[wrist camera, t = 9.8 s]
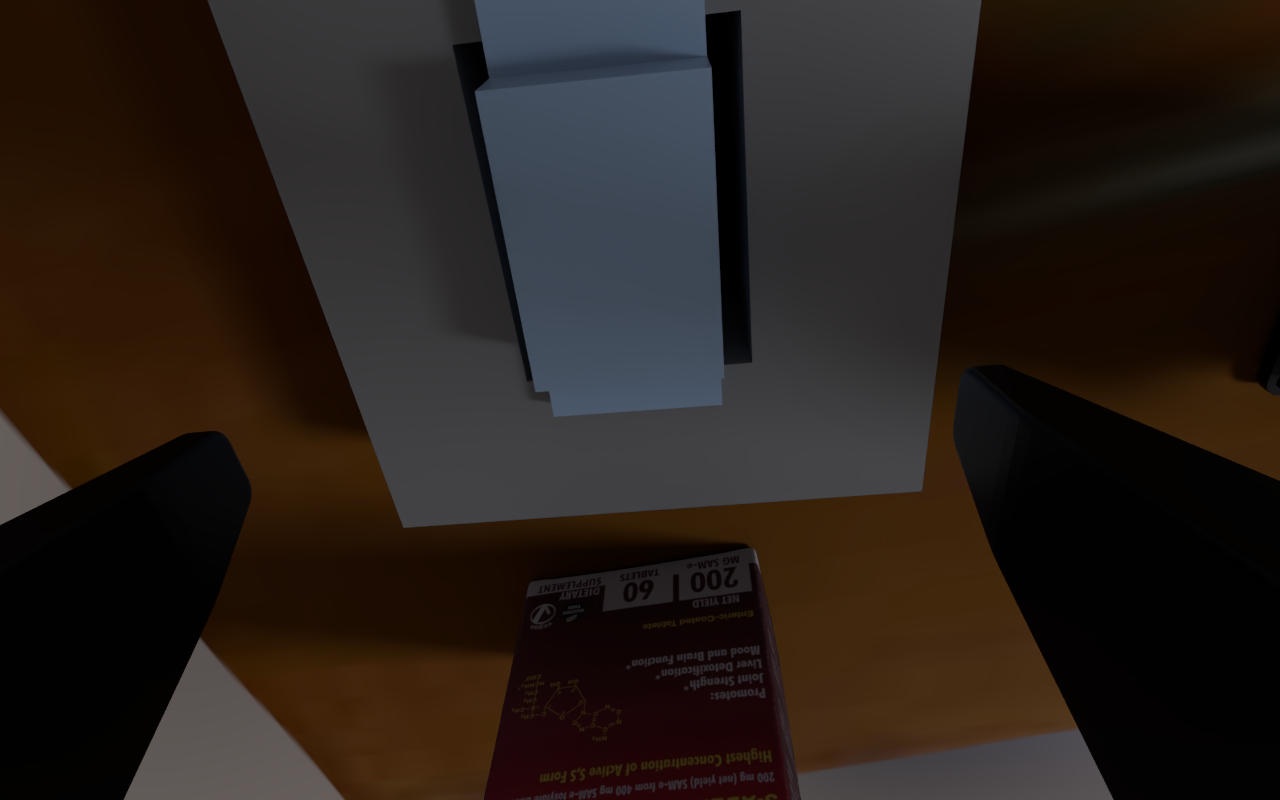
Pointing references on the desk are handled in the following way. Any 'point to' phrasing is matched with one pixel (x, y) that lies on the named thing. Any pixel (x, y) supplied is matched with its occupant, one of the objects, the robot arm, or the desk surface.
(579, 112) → the block
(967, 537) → the desk surface
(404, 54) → the chassis
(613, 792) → the supplement box
